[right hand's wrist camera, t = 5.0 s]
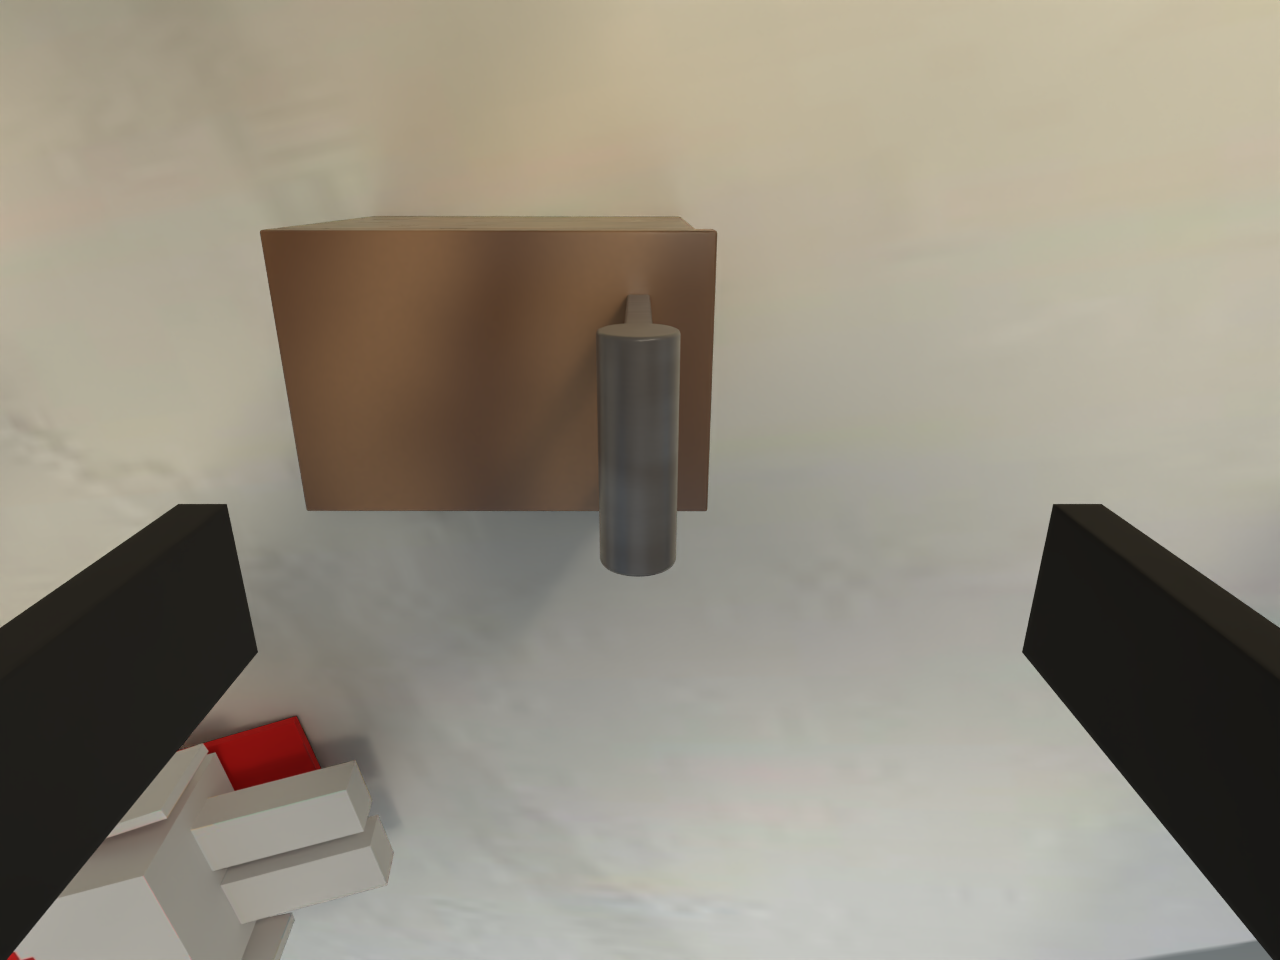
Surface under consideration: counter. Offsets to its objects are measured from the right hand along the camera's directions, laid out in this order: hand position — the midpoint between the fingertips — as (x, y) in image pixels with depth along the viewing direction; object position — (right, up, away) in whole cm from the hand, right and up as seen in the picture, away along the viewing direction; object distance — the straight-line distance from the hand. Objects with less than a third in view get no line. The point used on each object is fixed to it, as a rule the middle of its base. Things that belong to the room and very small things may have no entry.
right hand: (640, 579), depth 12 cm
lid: (-5, +5, +13) cm, 15 cm away
